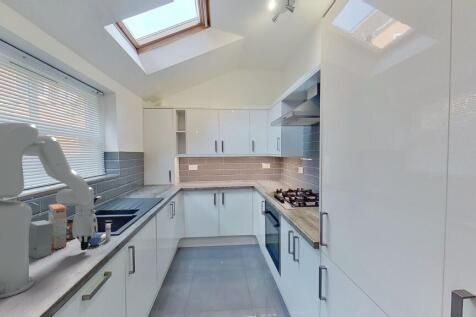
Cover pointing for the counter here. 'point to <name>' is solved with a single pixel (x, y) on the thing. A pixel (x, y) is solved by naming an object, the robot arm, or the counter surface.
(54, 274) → the counter surface
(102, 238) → the cream pin
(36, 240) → the skincare box
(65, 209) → the cracker box
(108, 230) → the grey pin
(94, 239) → the ball
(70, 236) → the supplement bottle
